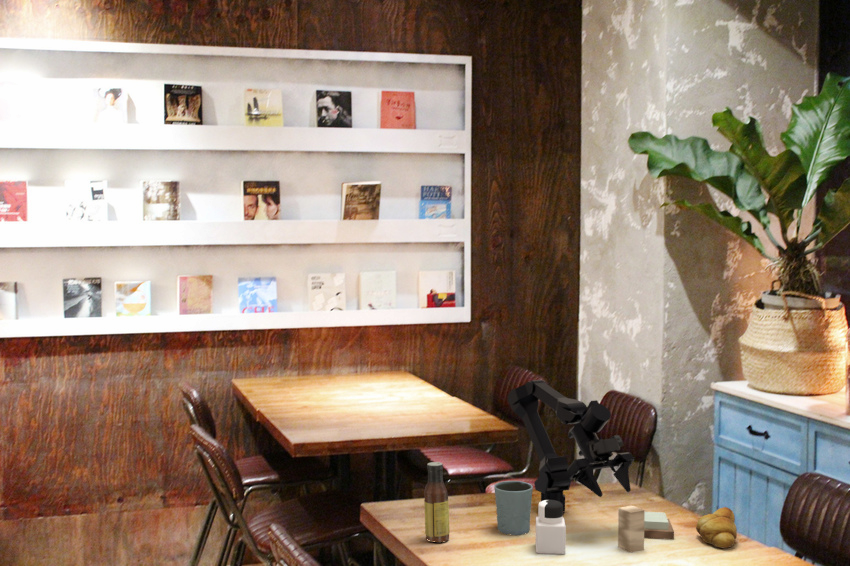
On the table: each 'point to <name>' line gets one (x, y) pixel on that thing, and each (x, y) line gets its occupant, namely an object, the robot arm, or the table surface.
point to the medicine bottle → (550, 528)
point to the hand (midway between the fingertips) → (615, 493)
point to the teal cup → (513, 506)
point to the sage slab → (656, 521)
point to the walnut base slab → (660, 533)
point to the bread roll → (718, 528)
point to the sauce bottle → (436, 505)
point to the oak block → (631, 528)
